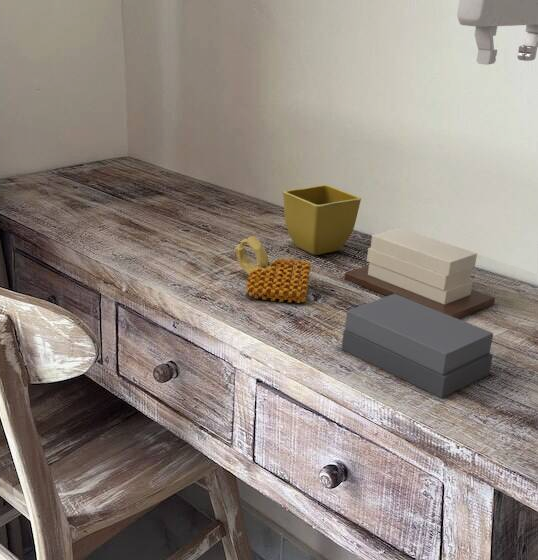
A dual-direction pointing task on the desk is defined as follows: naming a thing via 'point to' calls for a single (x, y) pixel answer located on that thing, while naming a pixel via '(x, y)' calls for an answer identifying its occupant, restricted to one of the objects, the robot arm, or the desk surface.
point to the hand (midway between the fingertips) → (506, 62)
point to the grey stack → (418, 344)
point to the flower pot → (320, 217)
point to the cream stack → (420, 285)
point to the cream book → (424, 251)
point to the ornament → (273, 274)
